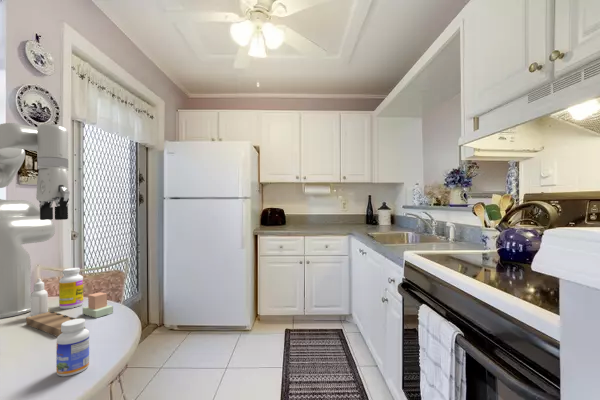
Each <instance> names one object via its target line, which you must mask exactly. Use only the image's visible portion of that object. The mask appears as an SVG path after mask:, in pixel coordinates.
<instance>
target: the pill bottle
mask: <svg viewBox="0 0 600 400" xmlns="http://www.w3.org/2000/svg"><path fill="white" fill-rule="evenodd" d="M86 324H87V323H86V319H85V318H76V319H73V320H69V321H66V322H64V323H62V324H61V332H63V333H62V334H60V335H59V336H56V359H55V360H56V364H55V366H56V369H55V370H56V375H57V376H59V377H70V376H73V375H76V374H78V373H81V372H84V371H85V370H86V369H87V368H88V367H90V330H88V329H87V328H86ZM84 327H85V329H84Z"/></svg>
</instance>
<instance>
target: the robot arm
mask: <svg viewBox="0 0 600 400" xmlns="http://www.w3.org/2000/svg"><path fill="white" fill-rule="evenodd" d="M25 150H27V151H31V152H32V151H33V152H36V154H37V155H36V156H37V157H36V159H37V162H36V163H37V170H38V172H37V181H36V194H35V195H36V200H37V201H38V202H39V207H38V206H37V205H36V204H35V203H33V202H31V201H29V200H22V199H21V200H20V199H1V198H0V319H3V318H9V317H15V316H20V315H23V314H26V313H29V312H30V313H31V293H32V292H31V291H32V290H31V289H32V285H31V283H32V282H31V278H32V277H31V255H30V253H29V252H28V251H27V249H26V248H24V247H23V245H25V244H26V245H27V244H37V243H42V242H46V241H49V240H50V239H52V238H53V237H54V235H55V233H56V226H55V223H54V222H53V220H55V221H59V220H60V221H62V220H68V219H69V201H70V198H69V197H70V191H69V179H68V171H69V132H68V129H67V128H65V126H62V125H57V124H51V123H44V124H39V125H38V126H37V127H35V126H30V125H27V124H20V123H15V122H5V123H0V189H2V188H6V187H8V186H9V185H10V184H11V183H12V182H13V180H14V179H15V176H16V175H17V173H18V171H19V170H20V168H21V167H22V165H23V163H24V162H25V161H24V160H25V158H26V151H25ZM53 203H54V204H55V206H54V207H53Z"/></svg>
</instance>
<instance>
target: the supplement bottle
mask: <svg viewBox="0 0 600 400" xmlns="http://www.w3.org/2000/svg"><path fill="white" fill-rule="evenodd" d="M80 272H81V269H80V267H69V268H65V269H63V270H62V274H63V276H62V277H60V278H59V280H58V284H59V285H58V287H59V288H58V293H59V294H58V296H59V297H58V305H59V309H61V310H68V309H74V307H75V308H79V307H81V306H82V305H84V276H83V275H81V274H80Z"/></svg>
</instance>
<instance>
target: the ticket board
mask: <svg viewBox="0 0 600 400" xmlns="http://www.w3.org/2000/svg"><path fill="white" fill-rule="evenodd" d="M73 319H77V318H75V317H73V316H69V315H65V314H62V313H59V312H55V311H52V310H51V311H48V312H46V313H42V314H39V315H35V316H31V315H30V316H27V317H26V319H25V320H26V325H27V326H29V327H32V328H34V329H37V330H40V331H42V332H45V333H47V334H50V335H52V336H55V337H58V336H59V335H60V334H62V333H63V332H61V324H62V323H64V322H66V321H69V320H73ZM84 329H86V326H85V327H84Z"/></svg>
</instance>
